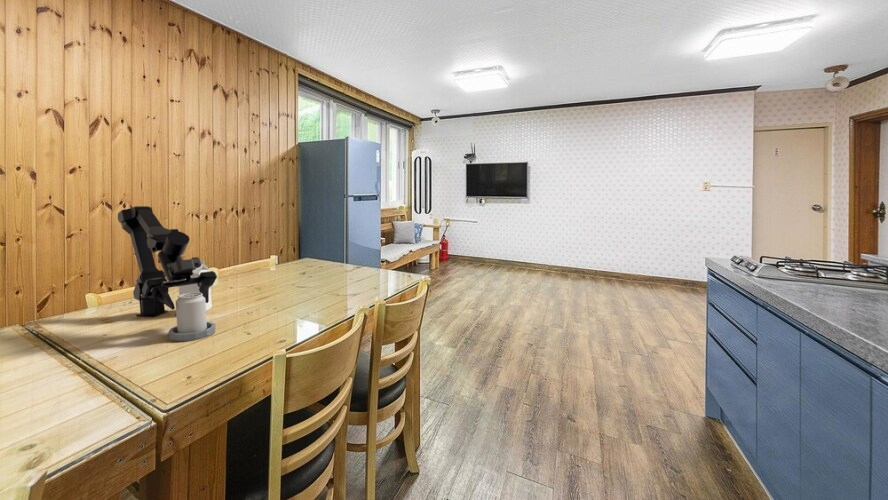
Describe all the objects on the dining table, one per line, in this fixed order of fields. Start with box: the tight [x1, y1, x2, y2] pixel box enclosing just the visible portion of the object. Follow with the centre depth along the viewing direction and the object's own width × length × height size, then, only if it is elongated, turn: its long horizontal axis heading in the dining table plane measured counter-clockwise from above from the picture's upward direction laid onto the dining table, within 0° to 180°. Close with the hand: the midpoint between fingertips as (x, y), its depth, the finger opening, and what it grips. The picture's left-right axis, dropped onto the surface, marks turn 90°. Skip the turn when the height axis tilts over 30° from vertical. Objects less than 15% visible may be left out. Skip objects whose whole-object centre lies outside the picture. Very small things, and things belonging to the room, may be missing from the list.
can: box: [175, 293, 208, 334], centre depth 113 cm, size 8×8×12 cm
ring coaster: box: [168, 321, 216, 342], centre depth 113 cm, size 12×12×2 cm
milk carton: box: [178, 260, 213, 312], centre depth 134 cm, size 7×7×19 cm
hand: (191, 305), depth 112 cm, fingers open, 9 cm apart
